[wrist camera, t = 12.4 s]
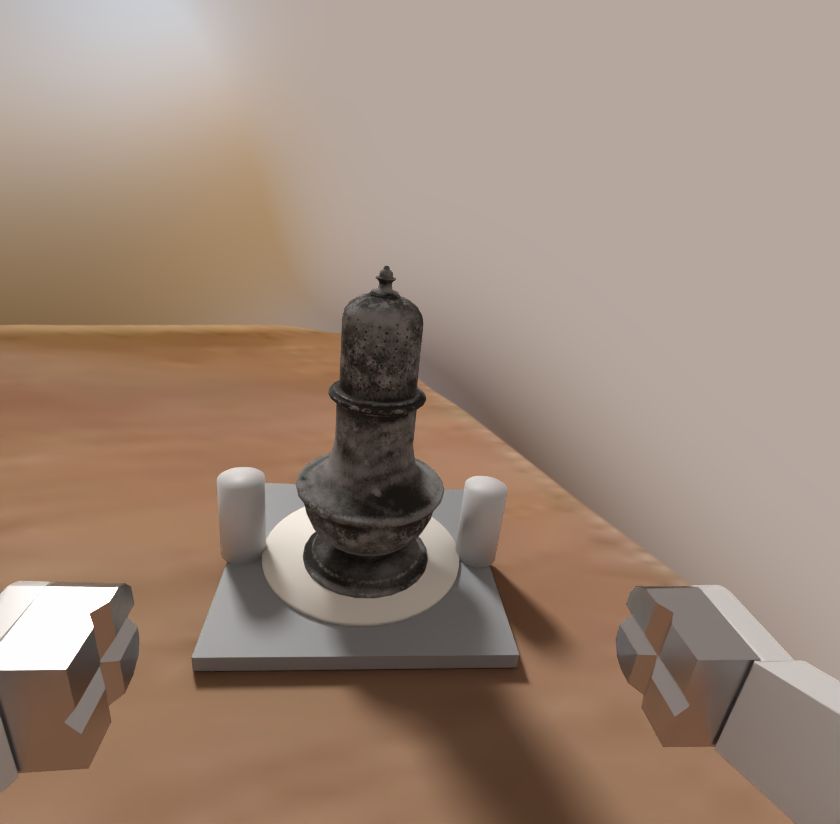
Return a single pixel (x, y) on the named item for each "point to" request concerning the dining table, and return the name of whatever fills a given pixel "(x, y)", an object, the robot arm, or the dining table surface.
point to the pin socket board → (346, 616)
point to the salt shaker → (372, 457)
